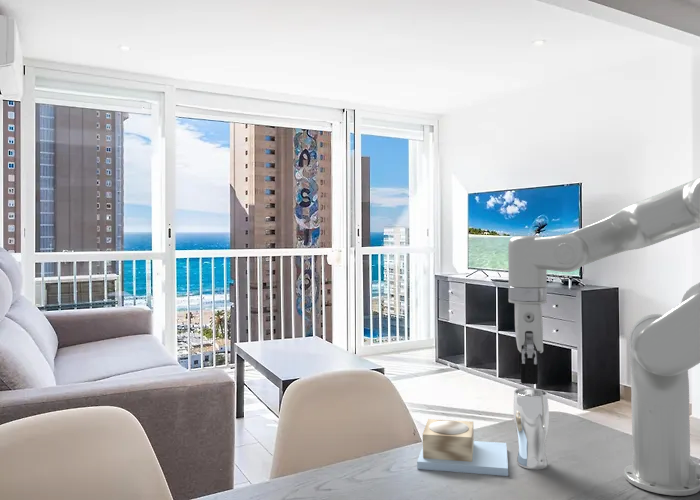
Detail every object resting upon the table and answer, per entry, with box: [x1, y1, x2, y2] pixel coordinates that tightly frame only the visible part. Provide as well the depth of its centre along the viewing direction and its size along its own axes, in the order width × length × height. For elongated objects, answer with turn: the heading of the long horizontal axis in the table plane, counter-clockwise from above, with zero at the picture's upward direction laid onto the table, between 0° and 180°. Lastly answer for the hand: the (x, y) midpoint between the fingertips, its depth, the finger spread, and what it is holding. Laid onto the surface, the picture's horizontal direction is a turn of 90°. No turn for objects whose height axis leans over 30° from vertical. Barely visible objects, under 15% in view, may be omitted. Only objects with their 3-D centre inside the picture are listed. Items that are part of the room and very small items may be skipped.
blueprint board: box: [416, 440, 509, 477], centre depth 116 cm, size 18×14×2 cm
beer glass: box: [513, 387, 550, 471], centre depth 112 cm, size 7×7×15 cm
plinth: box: [422, 418, 475, 462], centre depth 117 cm, size 10×10×5 cm
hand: (527, 377), depth 112 cm, fingers open, 9 cm apart
